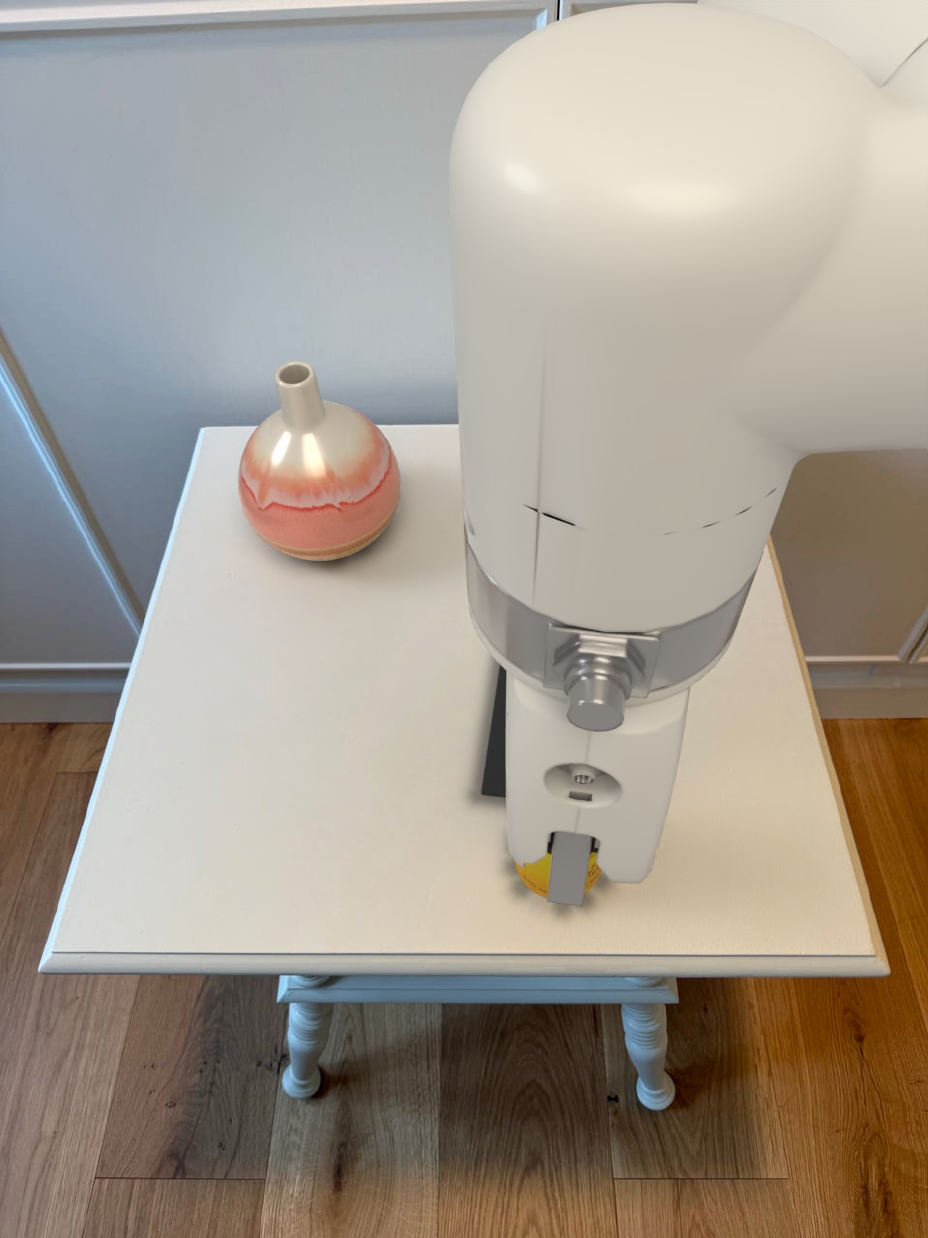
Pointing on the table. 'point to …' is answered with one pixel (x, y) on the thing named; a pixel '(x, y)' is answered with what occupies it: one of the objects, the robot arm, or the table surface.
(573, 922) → the table surface
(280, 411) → the vase
